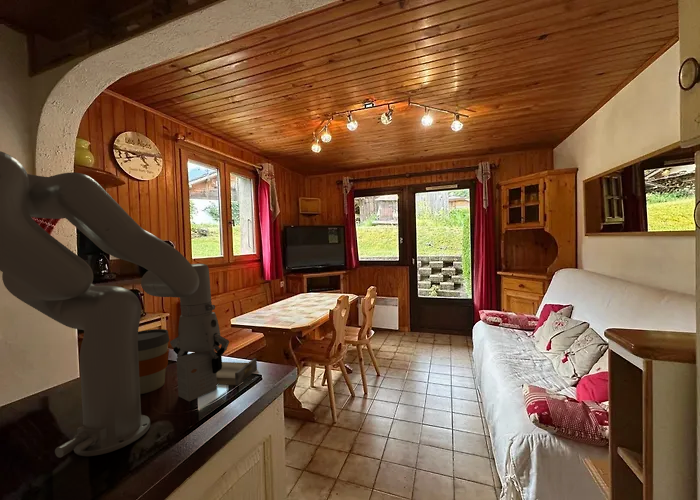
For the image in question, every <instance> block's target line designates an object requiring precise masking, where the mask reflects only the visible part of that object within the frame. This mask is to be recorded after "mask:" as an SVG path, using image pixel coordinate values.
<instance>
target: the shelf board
mask: <svg viewBox="0 0 700 500" xmlns="http://www.w3.org/2000/svg"><path fill="white" fill-rule="evenodd" d="M257 360H258V359H257V358H253V359H251V360H250V361H249V362H239V361H237V362H235V361H234V362H233V361H222V369H221V370H220V371H218V372H217V373H216V375H217V385H220V386H222V385H224V386H239V385H240V384H241V383H243V382H244V381H245V380H246V379H248V378H249V377H250V376H251V375H252V374H254V373H255V372H256V371H257V370H258V363H257V362H258V361H257Z"/></svg>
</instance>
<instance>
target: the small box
mask: <svg viewBox="0 0 700 500" xmlns="http://www.w3.org/2000/svg"><path fill="white" fill-rule="evenodd" d="M213 358H214V357H213V356H212V355H211V354H210V353H209V352H190V353H188V354H187V355H184V356H181V357H176V373H177V377H176V378H177V391H178V392H177V393H178V397H179V398H182V399H183V400H185V401H186V402H191V401H194V400H196V399H199V398H200V397H202V396H205V395H208V394H209V393H212V392H214V391H216V390H218V384H217V375H216V373H213V370H212V359H213Z"/></svg>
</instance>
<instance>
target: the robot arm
mask: <svg viewBox="0 0 700 500" xmlns="http://www.w3.org/2000/svg"><path fill="white" fill-rule="evenodd" d="M34 218H39V219H52V220H59V219H61V220H62V219H66V220H67V221H68V222H70V224H72V225H73V226H74V227H75V228H76V229H78V230H79V231H80V232H81V233H82V234H83V235H84V236H85V237H86V238H87V239H89V240H90V241H91V242H93V244H94V245H95V246H96V247H98V248H99V249H100V250H102V252H104V253H106V254H108V255H110V256H112V257H114V258H116V259H119V260H122V261H127V262H130V263H131V264H135V265H137V266H139V267H142V268H143V269H146V270H147V271H146V272H145V273H144V274H143V275H142V277H141V280H140V286H141V289H142V290H143V291H144V292H145V293H146V294H147V295H150V296H153V297H156V298H157V297H159V298H179V303H180V315H179V321H178V333H177V334H178V336H177V337H175V338H174V339H172V340H169V342H170V346H171V347H172V349H173V352H174V353H175V354H176V358H178V357H181V356H184V355H187V354H189V352H190V353H193V352H209V353H210V354H211V355H212V356H213V357H214V358H213V359H212V370H213V373H217V372H218V371H220V370H221V369H222V362H223V359H222V356H223V355H224V354H225V352H226V351H227V349H228V347H229V343H230V341H229V339H228V338H226V337H224V336H221V330H220V325H219V321H218V317H217V314H216V312H215V311H214V310H215V309H216V305H215V304H213V303H212V302H213V301H212V291H211V279H210V278H211V277H210V269H209V266H208V265H207V264H205V263H190V261H189V260H188V259H187V258H186V257H185V256H184V254H182V253H181V252H180V251H179V250H177V248H175V247H173V246H172V245H171V244H169V243H168V242H166V241H164V240H162V239H161V238H159V237H158V236H156V235H154V234H153V233H151V232H150V231H147V230H145V229H144V228H142V227H141V225H139V224H138V223H137V222H136V220H134V218H132V216H130V215H129V214H128V213H127V211H126V210H125V209H124V208H122V206H121V205H120V204H119V203H118V202H117V201H116V200H115V199H114V198H113V197H112V196H111V195H110V193H109V192H108V191H106V190H105V189H104V188H103V186H102V185H101V184H99V182H98V181H96V180H95V179H94V178H92V177H91V176H89V175H87V174H85V173H81V172H72V171H71V172H63V173H58V174H54V175H52V176H43V175H36V174H29V173H28V171H27V170H26V168H25V166H24V165H23V164H22V163H21V162H20V161H19V160H18V159H16V158H15V157H13V156H12V155H11V154H8V153H6V152H4V151H1V150H0V272H2V276H1V277H2V279H1V280H2V283H3V285H4V287H5V289H6V290H7V291H8V292H9V293H10V294H12V295H13V296H14V297H15V298H17V299H18V300H19V301H21V302H23V303H24V304H27V306H30V307H32V308H33V309H35V310H37V311H38V312H40V313H41V314H43V315H46V316H47V317H49V318H50V319H52V320H54V321H55V322H57V323H59V324H62V325H63V326H65V327H67V328H71V329H75V330H80V331H81V330H82V331H83V337H82V341H81V344H80V351H79V370H80V371H79V373H80V387H81V388H80V390H81V405H82V406H81V407H82V409H81V410H82V425H80V426H79V427H77V429H76V432H77V434H75V435H74V436H73V438H71V439H70V440H68V441H66V442H64V443H62V444H61V445H59V446H57V447H56V448H55V450H54V453H55V456H56V457H57V458H63V457H64V456H66V455H68V454H69V453H71V452H72V451H73V452H74V454H76V455H77V456H80V457H95V456H100V455H106V454H108V453H112V452H114V451H117V450H120V449H122V448H125V447H126V446H128V445H131V444H133V443H134V442H136V441H137V440H139V439H140V438H141V437H143V436H144V435H145V434H146V433H147V432H148V430H149V429H150V427H151V419H150V417H149V416H147V415H145V414H142V407H141V406H142V404H141V403H142V402H141V394H140V379H139V359H138V332H139V328H140V321H141V316H142V305H141V301H140V300H139V298H138V296H137V295H136V294H135V293H134V292H133V291H131V290H130V289H128V288H125V287H122V286H117V285H95V284H94V283H93V281H94V273H93V272H94V271H93V269H92V267H91V265H89V264H88V262H86V261H85V260H84V259H83V258H81V257H80V256H79V255H77V253H75V252H74V251H72V250H71V249H69V248H68V247H67V246H66V245H64V244H63V243H61V242H60V241H59V240H57V239H56V238H55V237H53V235H51V234H50V233H49V232H47V231H46V230H45V229H44V228H43V227H42V226H40V225H39V223H37V222H36V221H35V219H34Z"/></svg>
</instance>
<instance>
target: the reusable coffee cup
mask: <svg viewBox="0 0 700 500" xmlns="http://www.w3.org/2000/svg"><path fill="white" fill-rule="evenodd" d="M169 342H170V336H169V331H168V330H167V329H165V328H164V329H162V328H157V329H156V328H155V329H145V330H138V359H139V379H140V395H143V394H147V393H150V392H155V391H157V390H158V389H160V388H161V387H163V386H164V385H165V379H166V368H167V367H168V365H169V356H170V355H169V352H170V350H169V349H168V347H169Z"/></svg>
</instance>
